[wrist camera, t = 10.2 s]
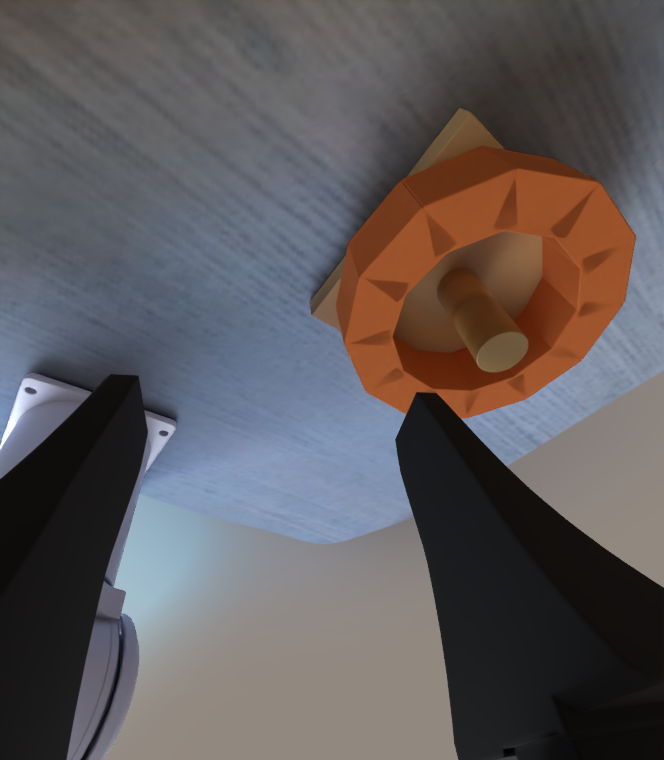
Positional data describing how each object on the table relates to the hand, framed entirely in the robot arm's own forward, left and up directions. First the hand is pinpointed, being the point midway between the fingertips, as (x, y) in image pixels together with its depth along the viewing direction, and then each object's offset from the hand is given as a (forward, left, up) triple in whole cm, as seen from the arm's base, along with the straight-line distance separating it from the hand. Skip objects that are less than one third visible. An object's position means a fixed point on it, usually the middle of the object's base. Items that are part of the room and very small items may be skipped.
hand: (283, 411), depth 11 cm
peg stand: (+4, -8, -10) cm, 13 cm away
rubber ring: (+4, -8, -9) cm, 12 cm away
